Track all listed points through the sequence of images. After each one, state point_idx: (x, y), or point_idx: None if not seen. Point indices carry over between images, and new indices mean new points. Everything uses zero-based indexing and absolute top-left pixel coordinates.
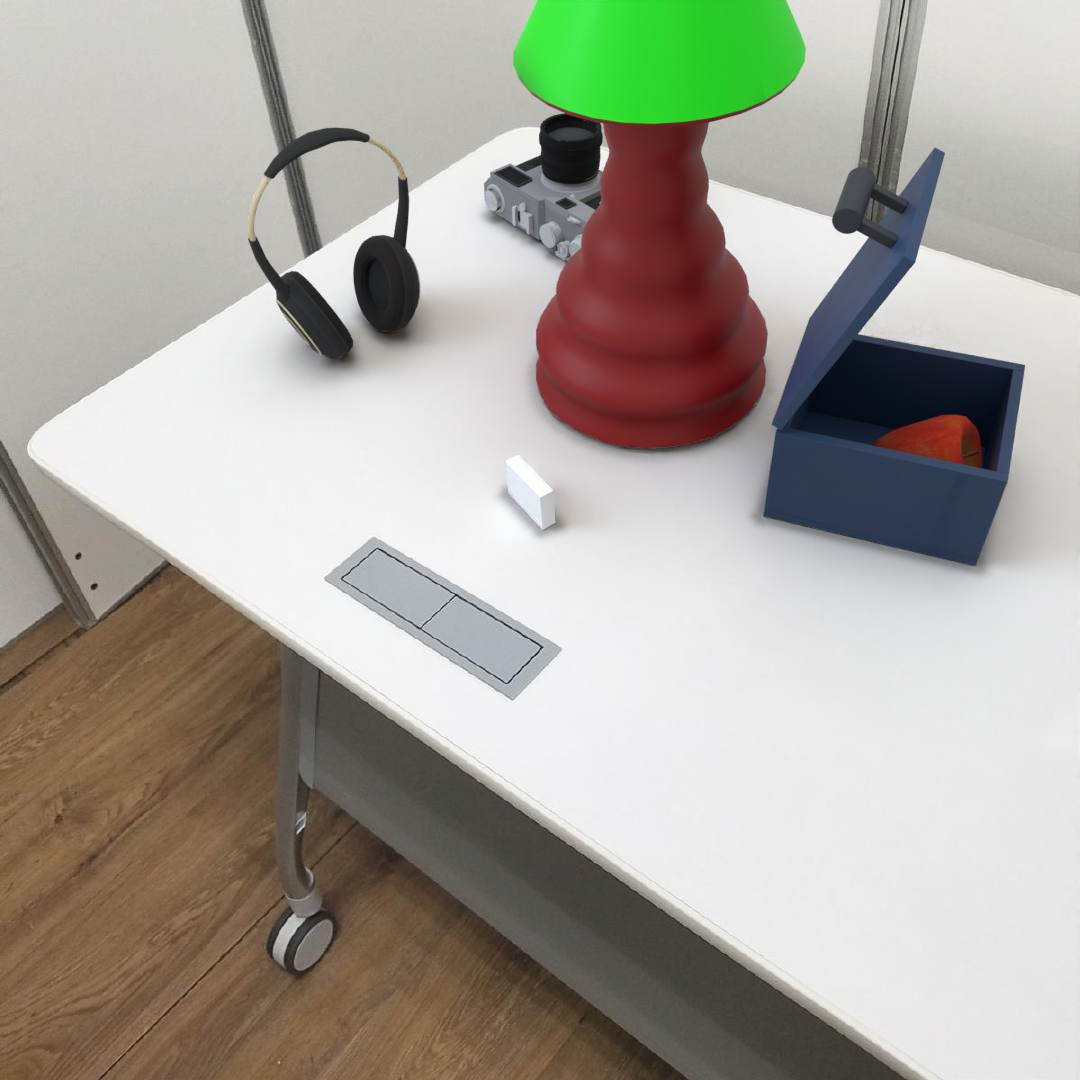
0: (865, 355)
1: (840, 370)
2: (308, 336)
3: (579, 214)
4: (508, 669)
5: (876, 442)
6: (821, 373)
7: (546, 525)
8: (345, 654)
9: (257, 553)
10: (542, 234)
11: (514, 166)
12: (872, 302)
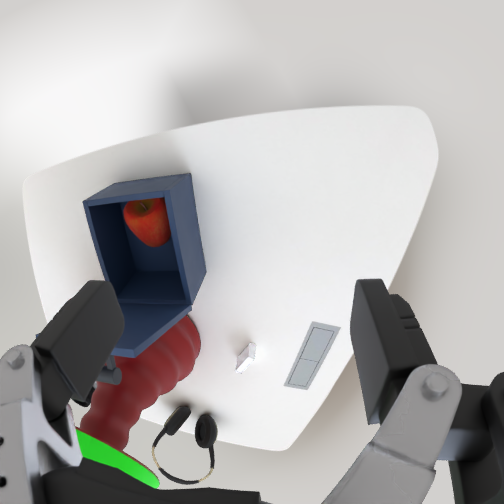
0: (112, 272)
1: (121, 275)
2: (217, 432)
3: None
4: (327, 333)
5: (152, 246)
6: (175, 319)
7: (254, 345)
8: (336, 374)
9: (303, 405)
10: None
11: None
12: (152, 340)
